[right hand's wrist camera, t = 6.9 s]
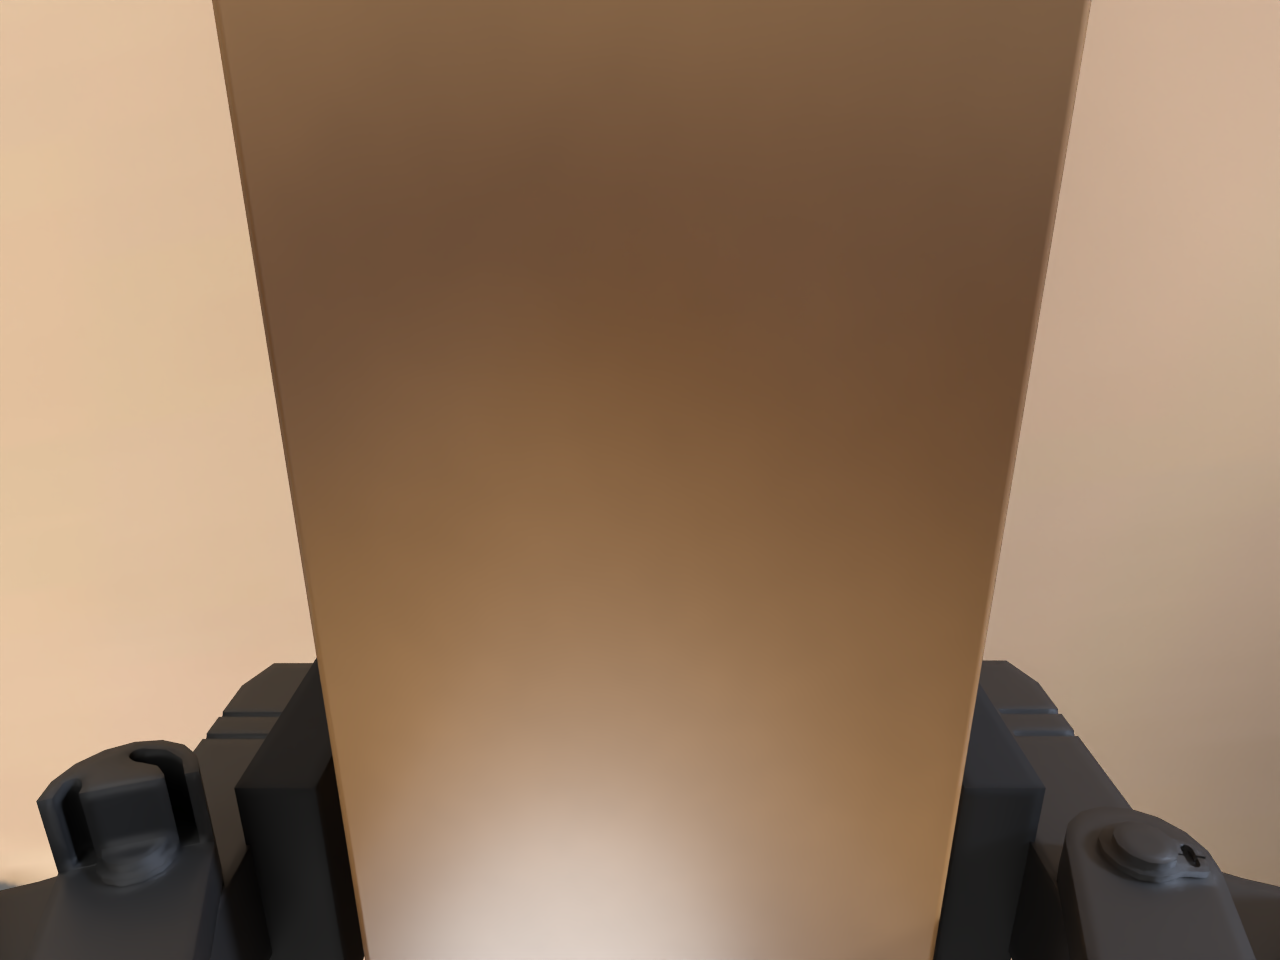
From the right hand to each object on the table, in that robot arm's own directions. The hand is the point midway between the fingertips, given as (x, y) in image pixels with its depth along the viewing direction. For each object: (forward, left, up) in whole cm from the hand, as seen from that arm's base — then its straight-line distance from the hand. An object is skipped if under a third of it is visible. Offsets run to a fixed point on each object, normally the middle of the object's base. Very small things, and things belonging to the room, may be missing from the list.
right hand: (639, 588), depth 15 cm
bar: (+10, +2, -1) cm, 10 cm away
